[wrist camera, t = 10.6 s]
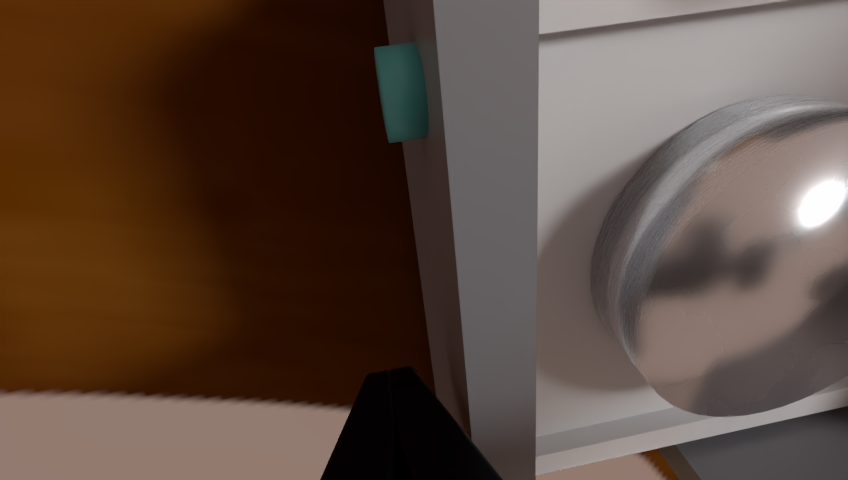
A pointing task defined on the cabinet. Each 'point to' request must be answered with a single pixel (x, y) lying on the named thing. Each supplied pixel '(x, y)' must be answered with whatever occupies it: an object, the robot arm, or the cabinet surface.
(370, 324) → the cabinet surface
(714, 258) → the disc
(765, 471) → the housing
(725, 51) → the tray
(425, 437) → the robot arm
